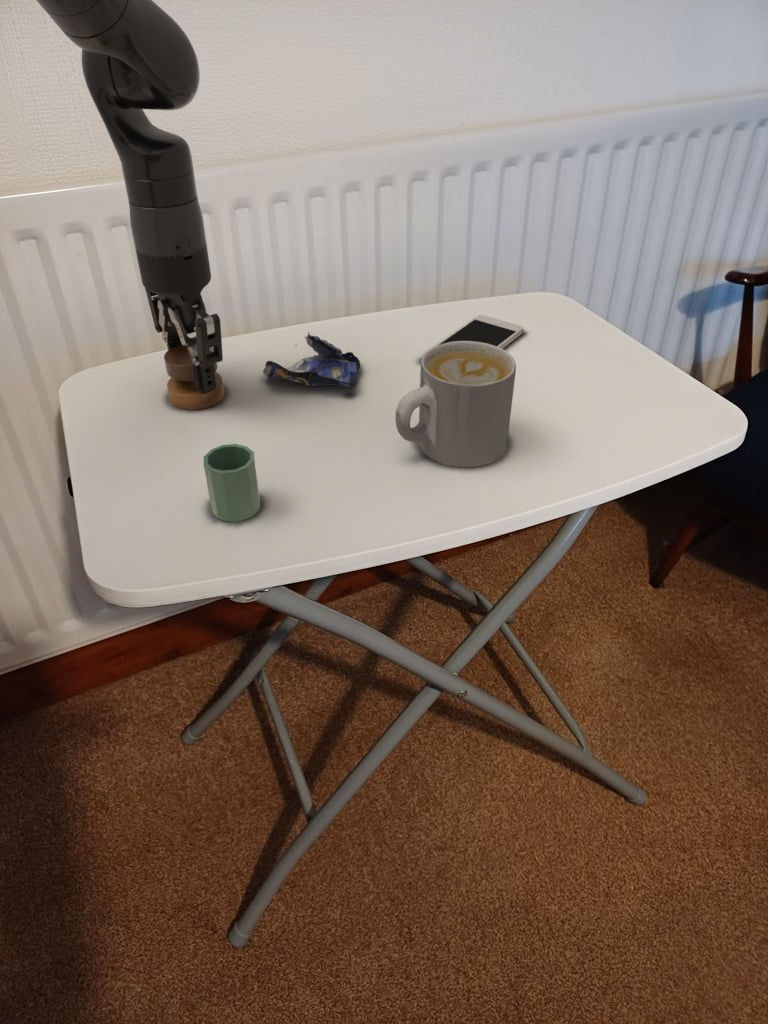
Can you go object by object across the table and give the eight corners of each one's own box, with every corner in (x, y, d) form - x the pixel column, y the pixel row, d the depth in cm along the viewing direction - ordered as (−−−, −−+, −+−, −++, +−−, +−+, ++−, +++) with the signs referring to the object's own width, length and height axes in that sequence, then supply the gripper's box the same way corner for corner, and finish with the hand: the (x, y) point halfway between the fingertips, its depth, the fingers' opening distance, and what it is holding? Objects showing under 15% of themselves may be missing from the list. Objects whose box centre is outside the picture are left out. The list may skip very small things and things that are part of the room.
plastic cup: (245, 526, 77) (238, 476, 73) (203, 515, 78) (194, 466, 74) (268, 498, 80) (263, 449, 76) (227, 488, 82) (220, 440, 78)
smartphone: (524, 332, 110) (525, 325, 109) (467, 376, 100) (468, 369, 99) (479, 319, 113) (480, 313, 112) (421, 361, 103) (421, 354, 102)
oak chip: (206, 414, 93) (203, 399, 92) (159, 404, 95) (156, 389, 94) (234, 388, 98) (232, 374, 96) (188, 379, 100) (186, 364, 98)
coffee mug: (485, 412, 93) (492, 335, 87) (522, 458, 86) (532, 377, 80) (377, 432, 90) (377, 352, 84) (406, 480, 83) (408, 398, 76)
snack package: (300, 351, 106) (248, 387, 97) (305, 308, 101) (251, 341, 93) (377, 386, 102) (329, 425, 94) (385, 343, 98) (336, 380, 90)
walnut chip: (200, 385, 91) (198, 369, 90) (156, 376, 93) (153, 360, 91) (227, 362, 95) (224, 347, 94) (184, 354, 97) (182, 339, 96)
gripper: (109, 230, 87) (139, 366, 97) (169, 269, 78) (194, 414, 89) (171, 216, 91) (193, 349, 101) (234, 252, 82) (251, 393, 92)
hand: (193, 379), depth 95 cm, fingers closed on walnut chip, 6 cm apart
